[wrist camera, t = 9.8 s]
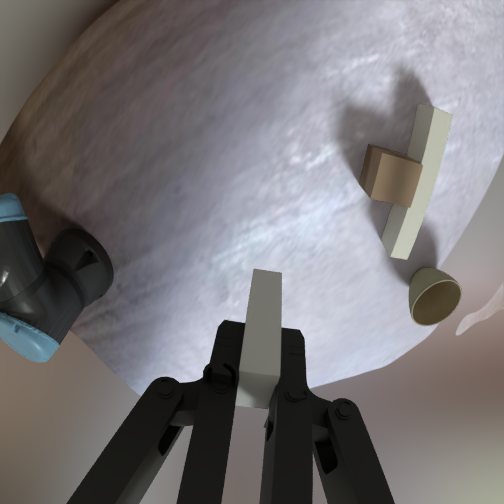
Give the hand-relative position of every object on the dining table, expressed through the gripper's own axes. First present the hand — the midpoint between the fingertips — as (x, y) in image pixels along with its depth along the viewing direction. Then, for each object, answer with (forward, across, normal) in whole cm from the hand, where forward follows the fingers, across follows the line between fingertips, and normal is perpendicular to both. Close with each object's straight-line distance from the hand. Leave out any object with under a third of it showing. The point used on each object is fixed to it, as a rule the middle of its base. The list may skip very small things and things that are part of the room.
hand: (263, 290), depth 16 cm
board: (+26, +20, +3) cm, 33 cm away
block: (+27, +15, +3) cm, 31 cm away
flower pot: (+27, +30, -14) cm, 42 cm away
